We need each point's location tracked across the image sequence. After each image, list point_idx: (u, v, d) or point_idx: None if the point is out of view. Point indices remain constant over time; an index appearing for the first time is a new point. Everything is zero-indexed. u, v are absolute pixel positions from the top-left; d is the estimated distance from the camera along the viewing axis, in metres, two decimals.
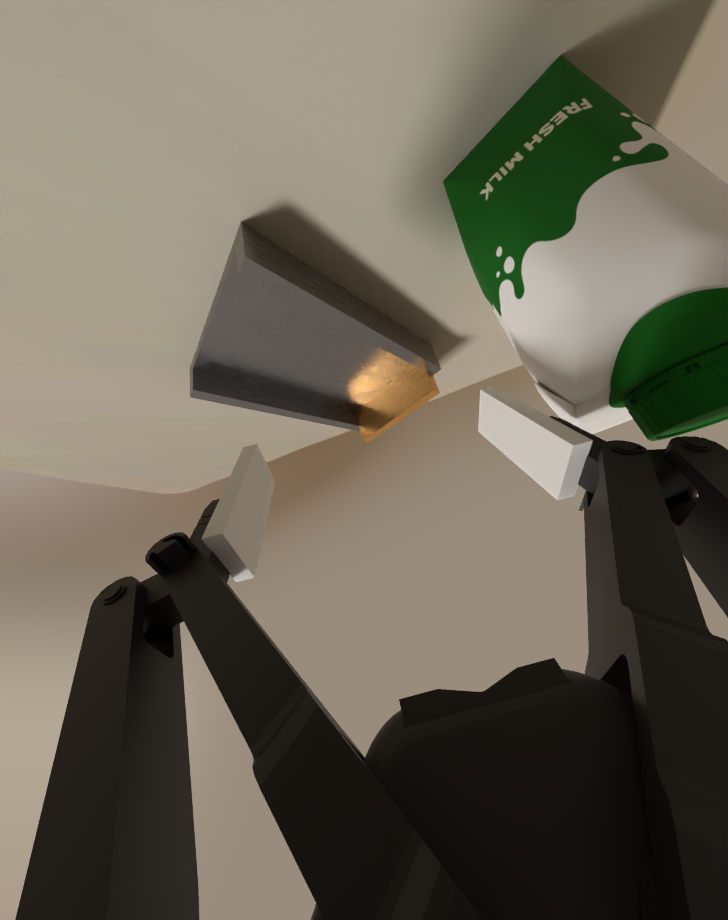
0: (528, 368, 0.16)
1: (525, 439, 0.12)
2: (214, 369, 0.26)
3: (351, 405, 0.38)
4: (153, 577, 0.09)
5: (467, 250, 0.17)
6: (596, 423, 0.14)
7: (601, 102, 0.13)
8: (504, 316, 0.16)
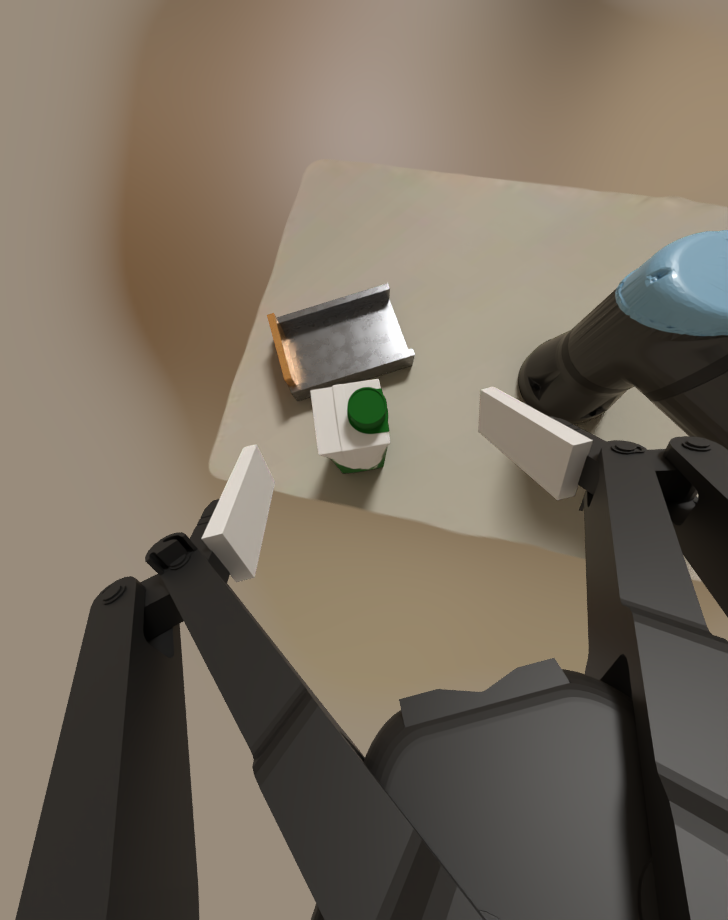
0: None
1: (525, 439, 0.12)
2: (381, 305, 0.50)
3: (292, 334, 0.50)
4: (153, 577, 0.09)
5: None
6: (340, 391, 0.29)
7: (382, 460, 0.41)
8: None
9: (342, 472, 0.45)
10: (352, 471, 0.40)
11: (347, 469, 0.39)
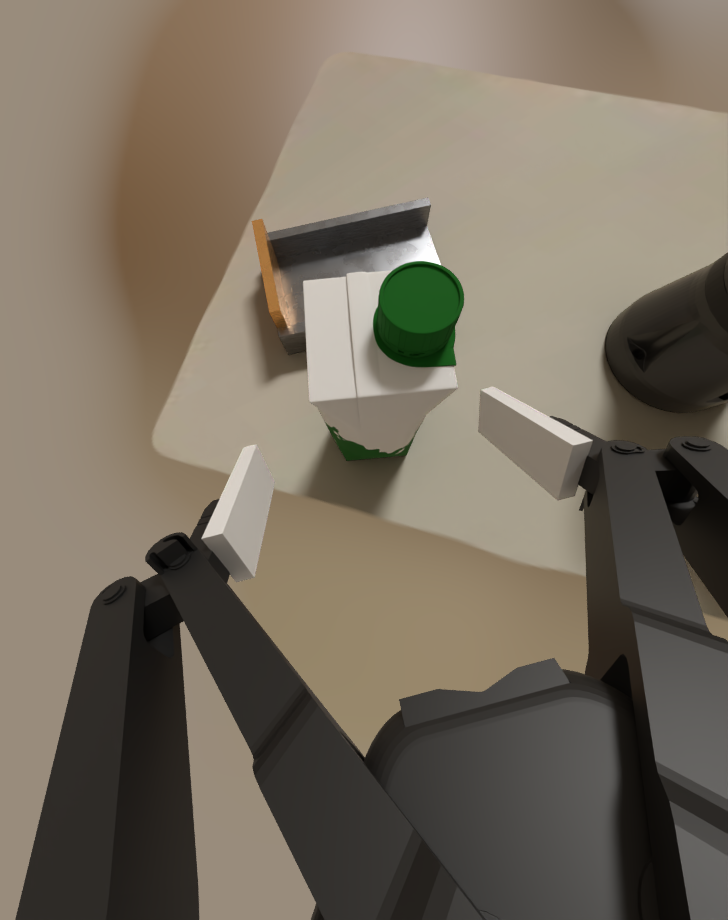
0: None
1: (525, 439, 0.12)
2: (416, 232, 0.36)
3: (289, 262, 0.36)
4: (153, 577, 0.09)
5: None
6: (362, 284, 0.15)
7: (410, 443, 0.27)
8: None
9: (346, 458, 0.30)
10: (364, 455, 0.25)
11: (356, 450, 0.24)
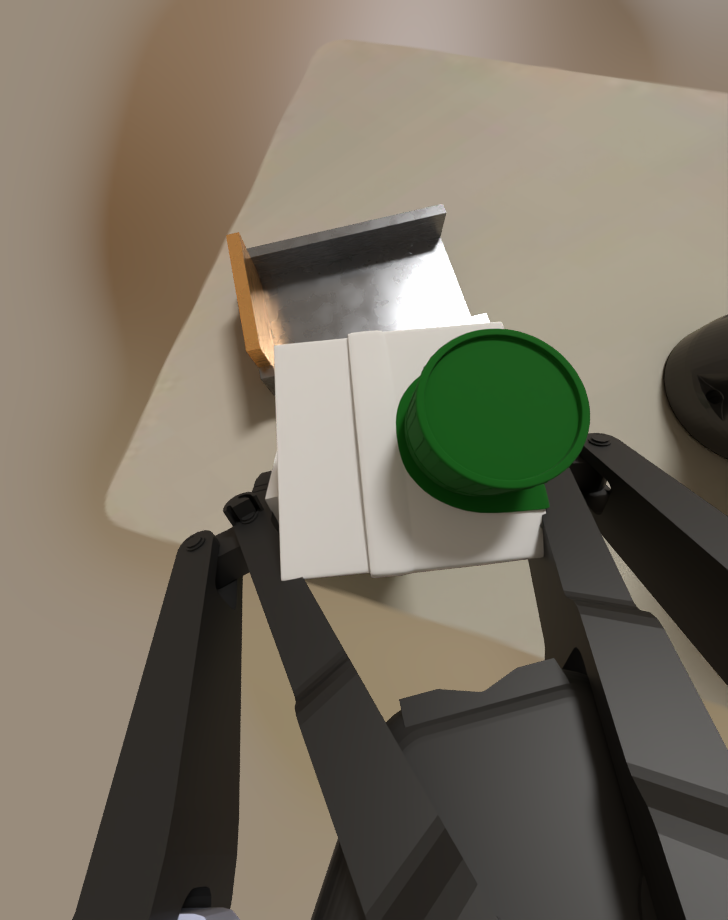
0: None
1: None
2: (427, 245, 0.30)
3: (275, 283, 0.30)
4: (223, 533, 0.10)
5: None
6: (375, 353, 0.09)
7: None
8: None
9: None
10: None
11: None
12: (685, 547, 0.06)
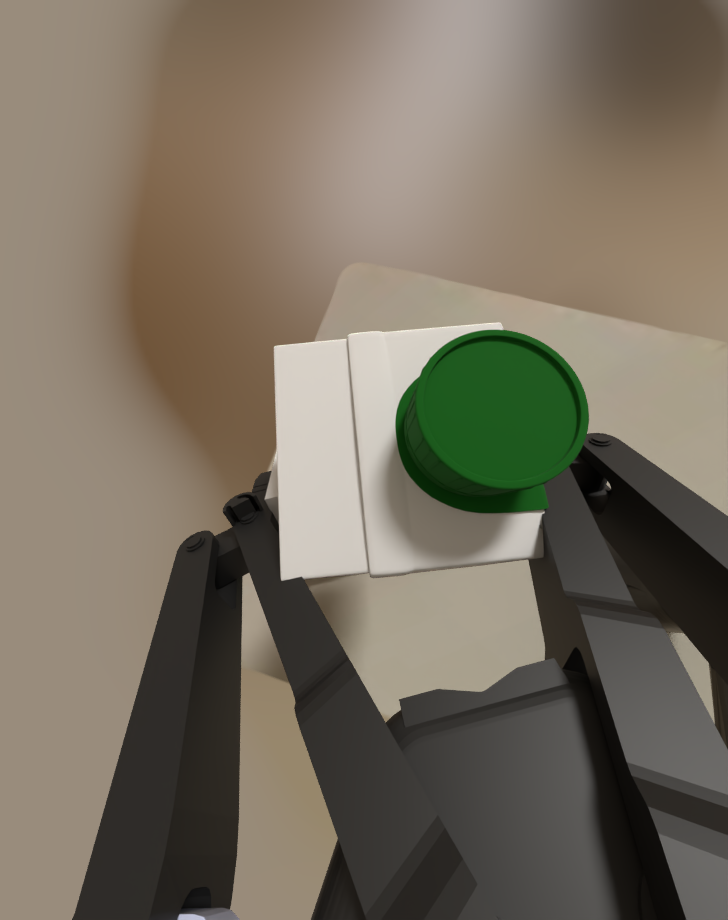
0: None
1: None
2: None
3: None
4: (223, 533, 0.10)
5: None
6: (375, 354, 0.09)
7: None
8: None
9: None
10: None
11: None
12: (686, 547, 0.06)
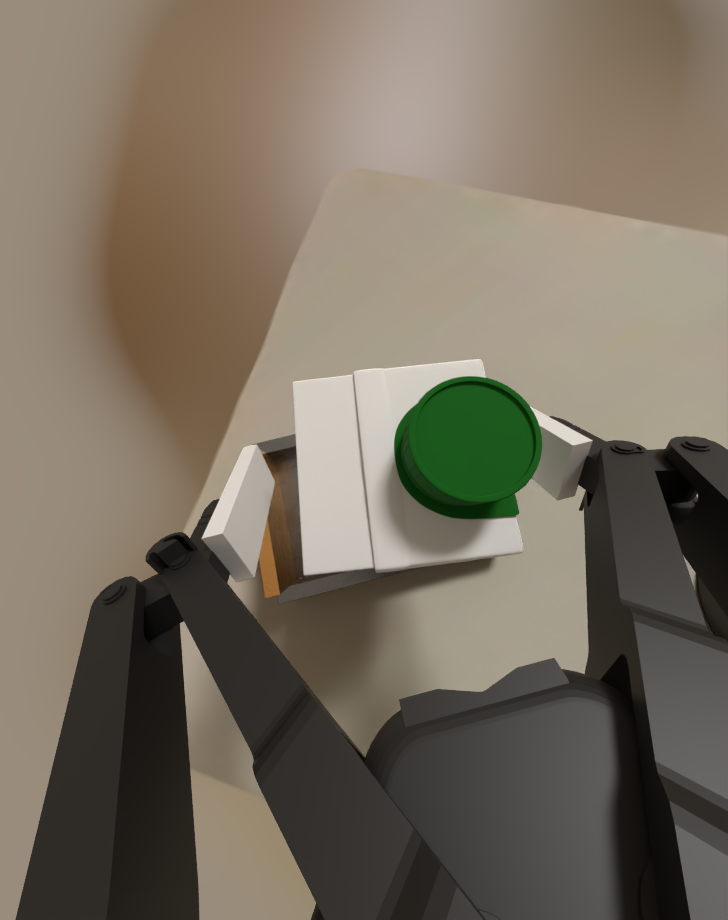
0: None
1: None
2: None
3: (290, 464, 0.28)
4: (153, 577, 0.09)
5: None
6: (377, 388, 0.11)
7: None
8: None
9: None
10: None
11: None
12: None
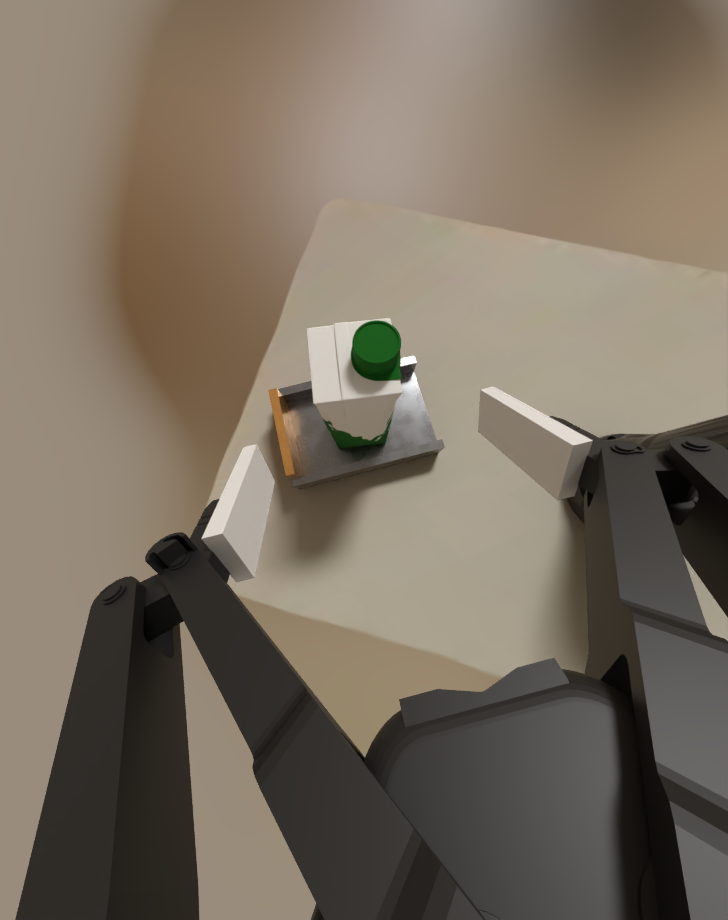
0: None
1: (525, 439, 0.12)
2: (405, 377, 0.43)
3: (298, 406, 0.42)
4: (153, 577, 0.09)
5: None
6: (343, 330, 0.24)
7: (386, 433, 0.36)
8: None
9: (339, 447, 0.40)
10: (351, 442, 0.34)
11: (346, 438, 0.33)
12: None
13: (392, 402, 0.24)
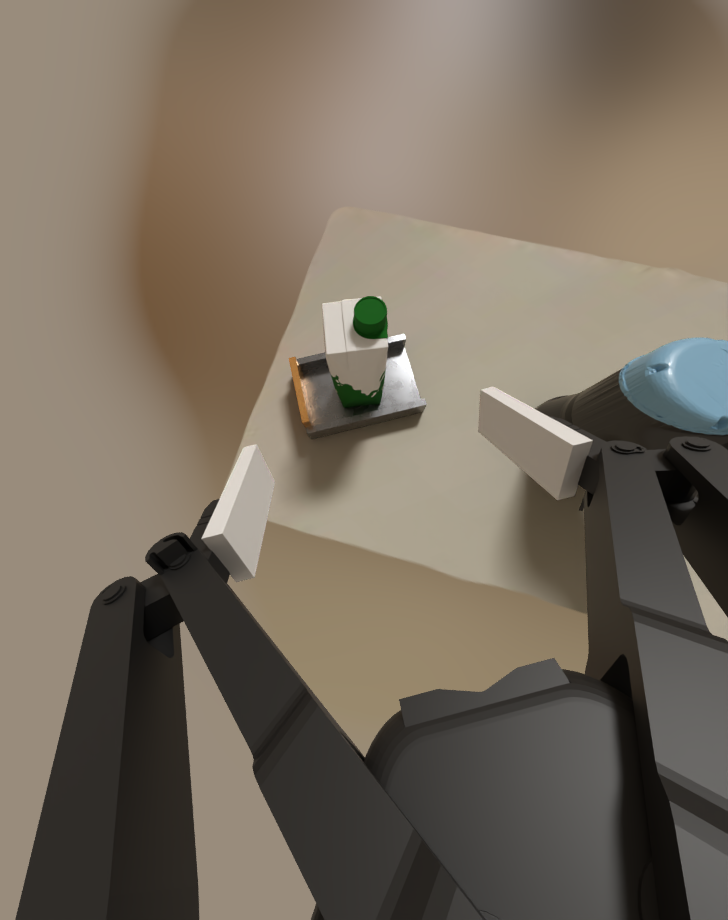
0: None
1: (525, 439, 0.12)
2: (397, 352, 0.53)
3: (310, 374, 0.53)
4: (153, 577, 0.09)
5: None
6: (348, 304, 0.35)
7: (380, 391, 0.46)
8: None
9: (343, 405, 0.50)
10: (353, 396, 0.45)
11: (348, 392, 0.44)
12: None
13: (381, 355, 0.35)
